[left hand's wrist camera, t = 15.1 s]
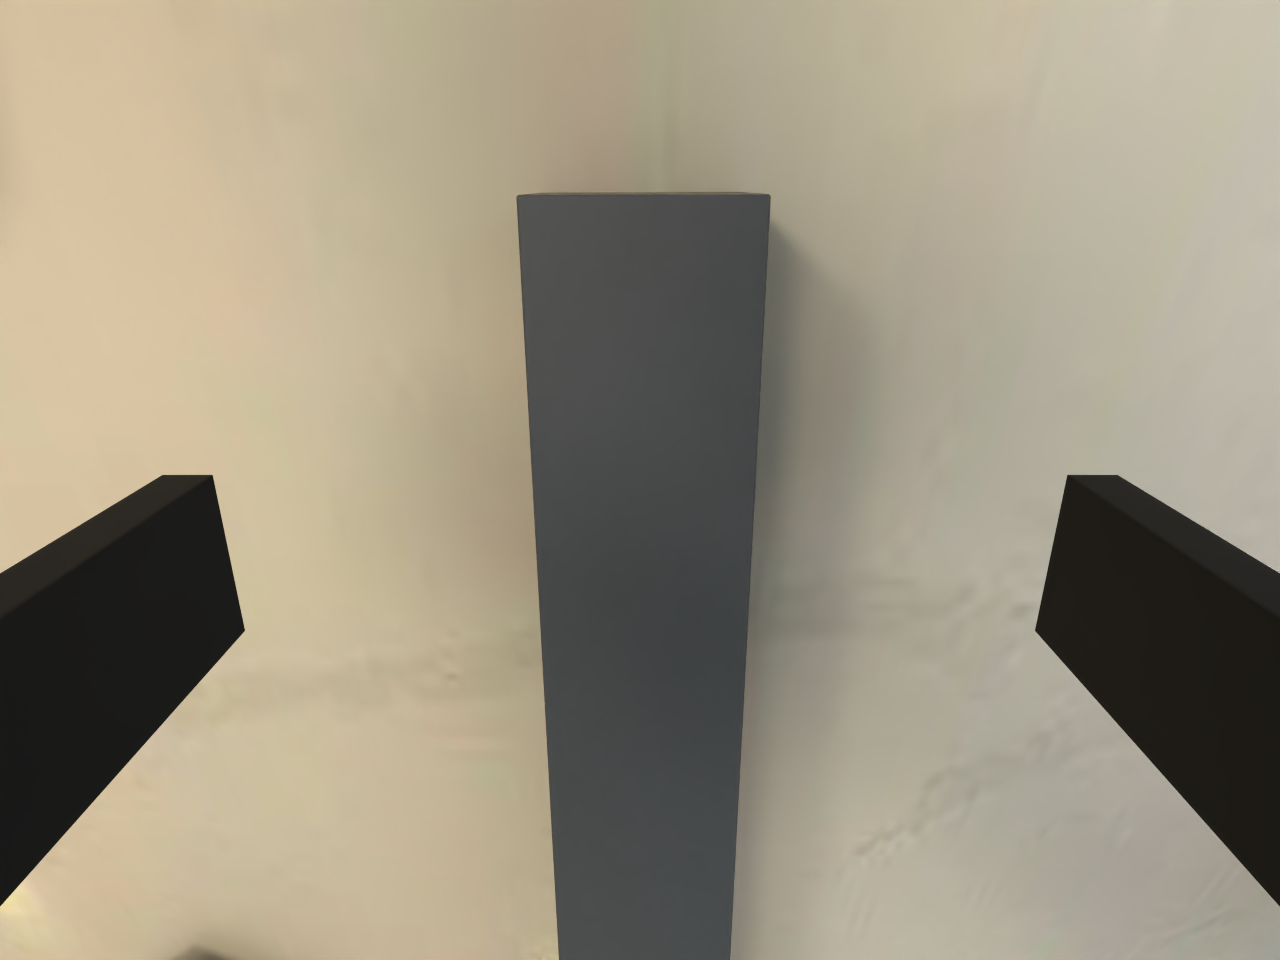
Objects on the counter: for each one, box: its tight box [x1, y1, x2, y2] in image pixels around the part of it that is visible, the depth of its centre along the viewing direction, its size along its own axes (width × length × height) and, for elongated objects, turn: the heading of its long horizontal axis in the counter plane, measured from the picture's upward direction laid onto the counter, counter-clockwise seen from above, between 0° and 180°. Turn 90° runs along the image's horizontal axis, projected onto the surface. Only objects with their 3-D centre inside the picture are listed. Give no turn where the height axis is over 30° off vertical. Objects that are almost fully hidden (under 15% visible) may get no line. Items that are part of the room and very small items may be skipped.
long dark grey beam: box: [517, 192, 771, 960], centre depth 40 cm, size 54×9×8 cm, turn 0°
